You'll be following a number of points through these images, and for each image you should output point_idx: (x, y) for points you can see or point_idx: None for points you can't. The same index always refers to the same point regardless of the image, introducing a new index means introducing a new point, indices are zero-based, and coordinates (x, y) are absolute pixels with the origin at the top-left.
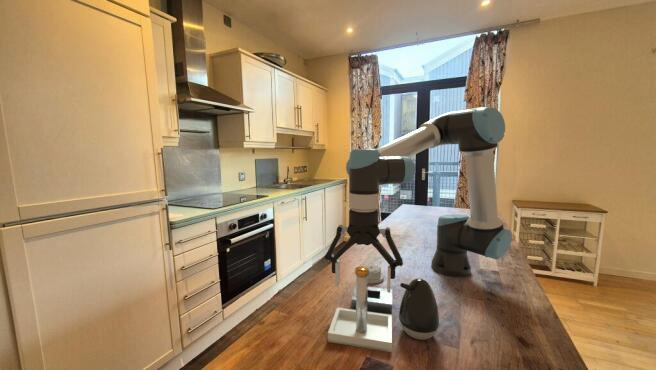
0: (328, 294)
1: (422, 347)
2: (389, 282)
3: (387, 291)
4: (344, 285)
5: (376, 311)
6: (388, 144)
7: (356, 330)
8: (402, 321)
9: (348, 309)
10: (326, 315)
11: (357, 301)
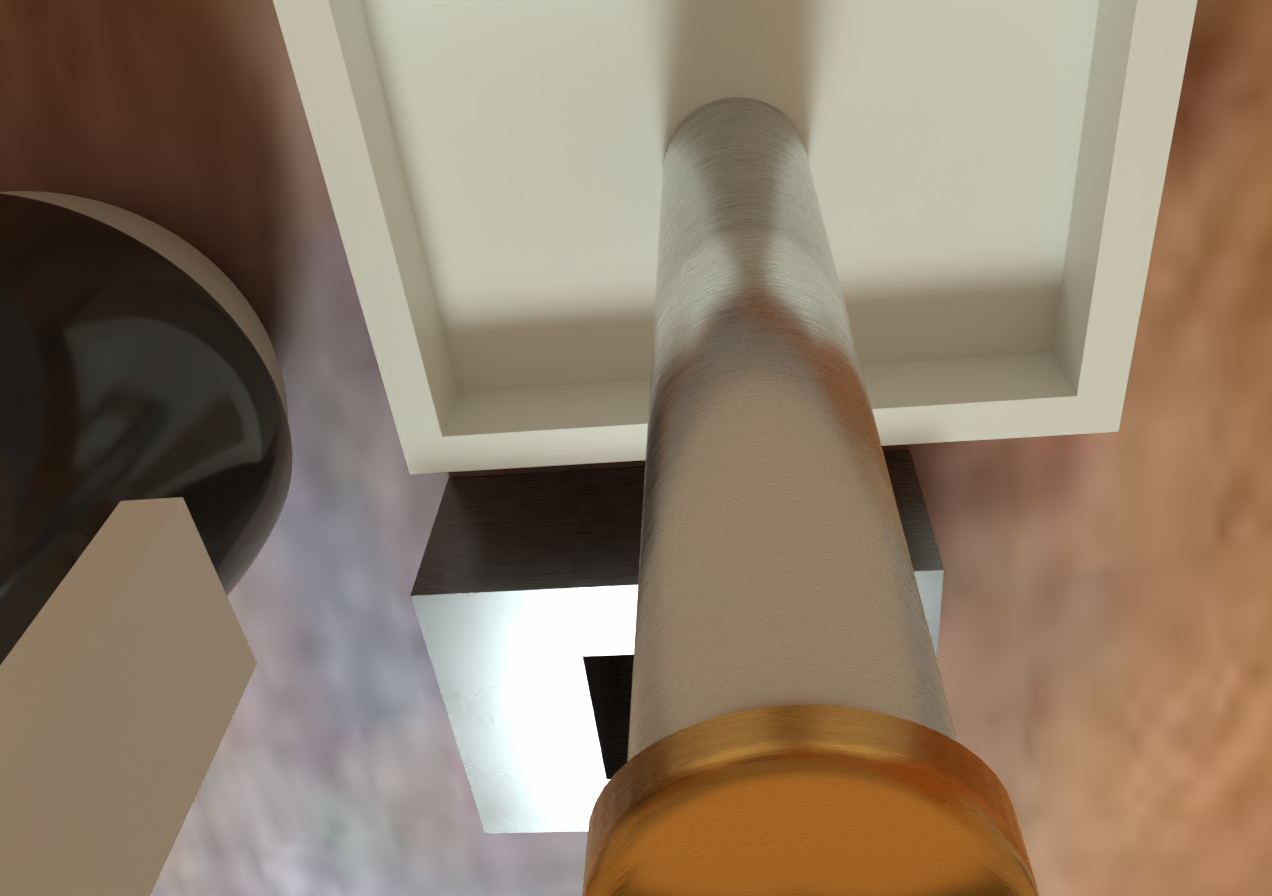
0: (1218, 688)
1: (8, 113)
2: (17, 676)
3: (171, 510)
4: (1041, 848)
5: (611, 508)
6: None
7: (795, 128)
8: (184, 304)
9: (955, 430)
10: (1225, 333)
11: (828, 315)
